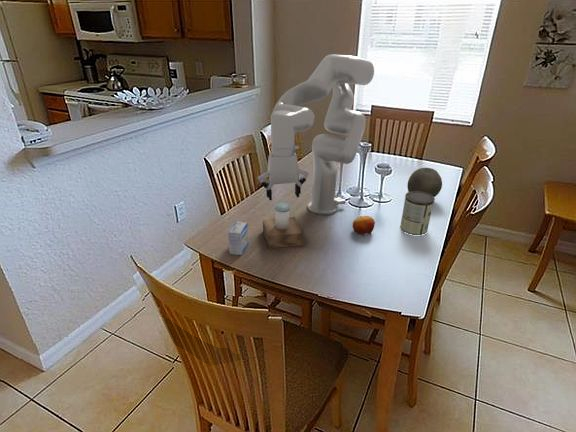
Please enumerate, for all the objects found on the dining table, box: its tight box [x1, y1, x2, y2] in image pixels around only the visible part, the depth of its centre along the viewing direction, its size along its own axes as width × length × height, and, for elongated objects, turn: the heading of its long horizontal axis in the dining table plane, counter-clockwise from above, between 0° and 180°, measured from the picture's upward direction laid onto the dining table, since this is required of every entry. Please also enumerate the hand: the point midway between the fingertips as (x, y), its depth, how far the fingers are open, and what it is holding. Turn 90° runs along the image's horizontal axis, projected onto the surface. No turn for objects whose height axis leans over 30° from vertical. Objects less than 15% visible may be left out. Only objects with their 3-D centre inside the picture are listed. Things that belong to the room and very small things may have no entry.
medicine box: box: [227, 221, 249, 256], centre depth 128 cm, size 8×4×9 cm, turn 168°
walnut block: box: [262, 216, 303, 249], centre depth 135 cm, size 12×12×5 cm
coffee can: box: [399, 191, 436, 235], centre depth 140 cm, size 10×10×14 cm
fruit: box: [352, 215, 376, 237], centre depth 139 cm, size 8×8×8 cm
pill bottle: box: [274, 202, 291, 230], centre depth 132 cm, size 5×5×8 cm
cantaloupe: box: [407, 167, 443, 198], centre depth 163 cm, size 14×14×15 cm
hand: (283, 197), depth 129 cm, fingers open, 9 cm apart
